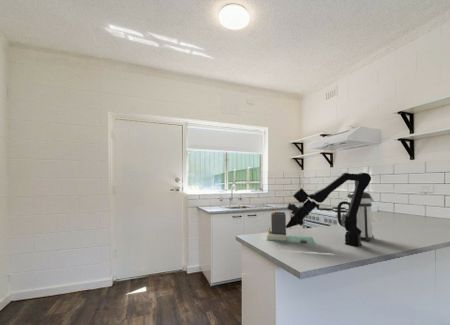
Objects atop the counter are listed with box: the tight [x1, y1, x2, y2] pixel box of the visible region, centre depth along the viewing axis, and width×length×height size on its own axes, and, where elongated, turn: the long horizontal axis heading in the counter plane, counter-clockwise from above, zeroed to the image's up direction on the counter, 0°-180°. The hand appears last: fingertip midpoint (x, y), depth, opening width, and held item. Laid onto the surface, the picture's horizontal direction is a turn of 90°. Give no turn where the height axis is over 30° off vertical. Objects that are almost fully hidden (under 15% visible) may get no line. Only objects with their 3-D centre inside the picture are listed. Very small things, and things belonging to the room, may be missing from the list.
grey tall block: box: [270, 210, 287, 236], centre depth 132 cm, size 8×5×15 cm, turn 76°
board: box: [266, 227, 317, 245], centre depth 130 cm, size 26×14×6 cm, turn 76°
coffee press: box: [336, 191, 375, 242], centre depth 136 cm, size 17×16×30 cm
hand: (286, 227), depth 131 cm, fingers closed
